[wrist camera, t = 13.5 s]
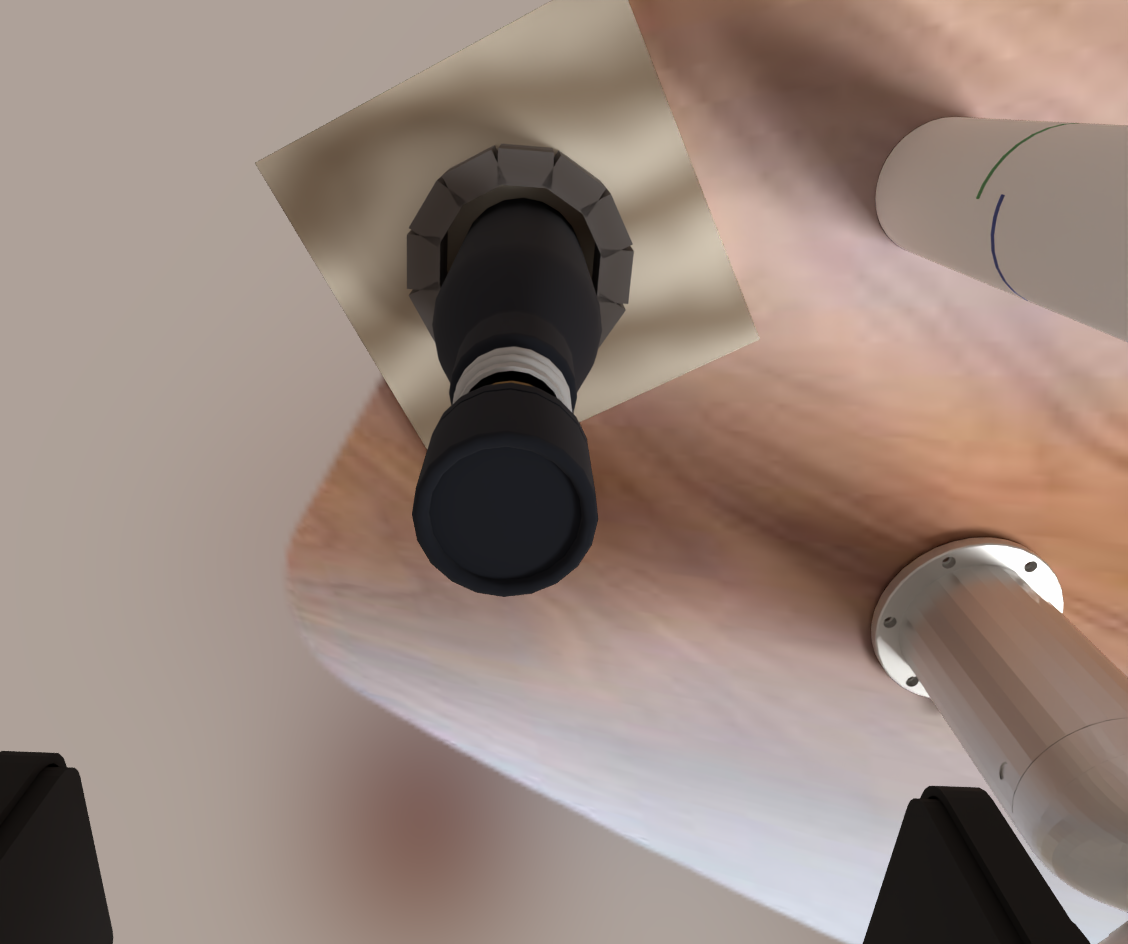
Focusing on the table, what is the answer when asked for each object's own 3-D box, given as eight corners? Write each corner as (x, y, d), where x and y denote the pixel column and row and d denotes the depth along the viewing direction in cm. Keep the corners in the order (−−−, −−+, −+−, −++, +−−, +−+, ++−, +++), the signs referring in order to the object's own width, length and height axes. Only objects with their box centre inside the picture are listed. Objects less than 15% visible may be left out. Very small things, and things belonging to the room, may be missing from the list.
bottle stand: (753, 332, 48) (779, 359, 43) (449, 472, 51) (440, 513, 46) (611, -30, 40) (623, -48, 35) (263, 161, 43) (228, 169, 38)
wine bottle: (563, 182, 43) (619, 332, 16) (594, 301, 45) (688, 608, 18) (445, 216, 43) (297, 420, 16) (482, 332, 46) (410, 677, 19)
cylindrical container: (864, 253, 46) (1184, 405, 24) (889, 114, 44) (1280, 135, 21) (989, 256, 47) (1422, 409, 24) (1021, 119, 44) (1551, 144, 21)
